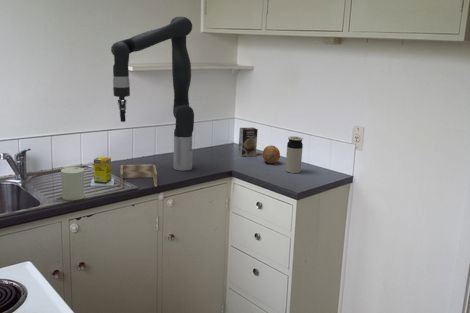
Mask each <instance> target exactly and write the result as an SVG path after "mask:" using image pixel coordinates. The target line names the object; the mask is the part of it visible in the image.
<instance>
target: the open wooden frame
mask: <svg viewBox="0 0 470 313" xmlns="http://www.w3.org/2000/svg"><path fill="white" fill-rule="evenodd" d="M127 178H128V179H129V178H132V179H133V178H136V179H137V178H152V179H153V184H154V187H158V173H157V168H156V165H155V164H120V188H124V179H127Z"/></svg>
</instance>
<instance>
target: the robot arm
mask: <svg viewBox="0 0 470 313" xmlns="http://www.w3.org/2000/svg"><path fill="white" fill-rule="evenodd" d="M192 30H193V23H192V21H191V20H190V19H189V18H188V17H186V16H175V17H174V18H172V19H171V20H170V23H168V24H167V25H164V26H162V27H159V28H158V27H157V28H156V29H151V30H148V31H145V32H142V33H140V34H136V35H133V36H132V37H130V38H126V39H121V40H120V41H116V42H114V43H113V44H112V46H111V48H110V51H111V54H112V55H113V57H114V58H113V60H114V64H113V66H112V67H113V68H112V74H113V75H112V76H113V80H112V86H113V87H112V89H113V90H112V91H113V96H114V97H116V98H118V99H117V105H118V110H119V118H120V122H122V123H125V122H126V110H127V99H125V98H126V97H129V96H131V91H130V90H131V88H130V86H131V85H130V83H131V82H130V77H129V76H130V75H129V72H130V71H129V63H130V54H132V53H136V52H140V51H143V50H146V49H148V48H150V47H153V46H155V45H157V44H160V43H162V42H165V41H168V40H170V41H171V64H172V65H171V66H172V67H171V69H172V70H171V71H172V73H171V74H172V86H173V87H172V88H173V106H172V108H173V109H172V113H173V117H174V118H175V128H174V131H173V164H172V166H173V169H174V170H175V171H182V172H183V171H184V172H186V171H190V170H193V154H194V153H193V132H194V126H195V125H194V123H195V112H194V111H195V110H194V109H193V108H192V107H191V105H190V102H189V100H190V98H189V92H190V91H189V90H190V86H191V81H192V63H191V60H190V55H189V51H188V48H187V36H188V35H189V34H191V32H192Z"/></svg>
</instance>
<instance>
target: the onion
mask: <svg viewBox="0 0 470 313" xmlns="http://www.w3.org/2000/svg"><path fill="white" fill-rule="evenodd" d="M261 156H262V159H263V160H264V162H265V163H268V164H275V163H277V162H278V161H279V160H280V159H281V158H280V157H281V152H280V149H279V148H278V147H277V146H275V145H267V146H265V148H264V149H263V150H262V155H261Z"/></svg>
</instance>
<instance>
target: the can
mask: <svg viewBox="0 0 470 313" xmlns="http://www.w3.org/2000/svg"><path fill="white" fill-rule="evenodd" d="M60 176H61V199H62V200H64V201H65V200H66V201H77V200H79V201H80V200H82V199H85V197H86V192H85V189H86V188H85V168H83V167H79V166H70V167H68V166H67V167H64V168H62V169H61V170H60Z"/></svg>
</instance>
